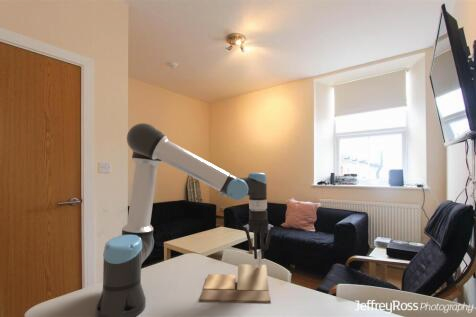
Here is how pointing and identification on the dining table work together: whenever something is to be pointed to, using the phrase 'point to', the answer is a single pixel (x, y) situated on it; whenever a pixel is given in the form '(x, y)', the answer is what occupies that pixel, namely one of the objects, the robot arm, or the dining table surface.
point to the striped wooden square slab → (220, 282)
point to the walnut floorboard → (235, 296)
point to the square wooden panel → (252, 278)
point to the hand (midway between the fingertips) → (259, 266)
